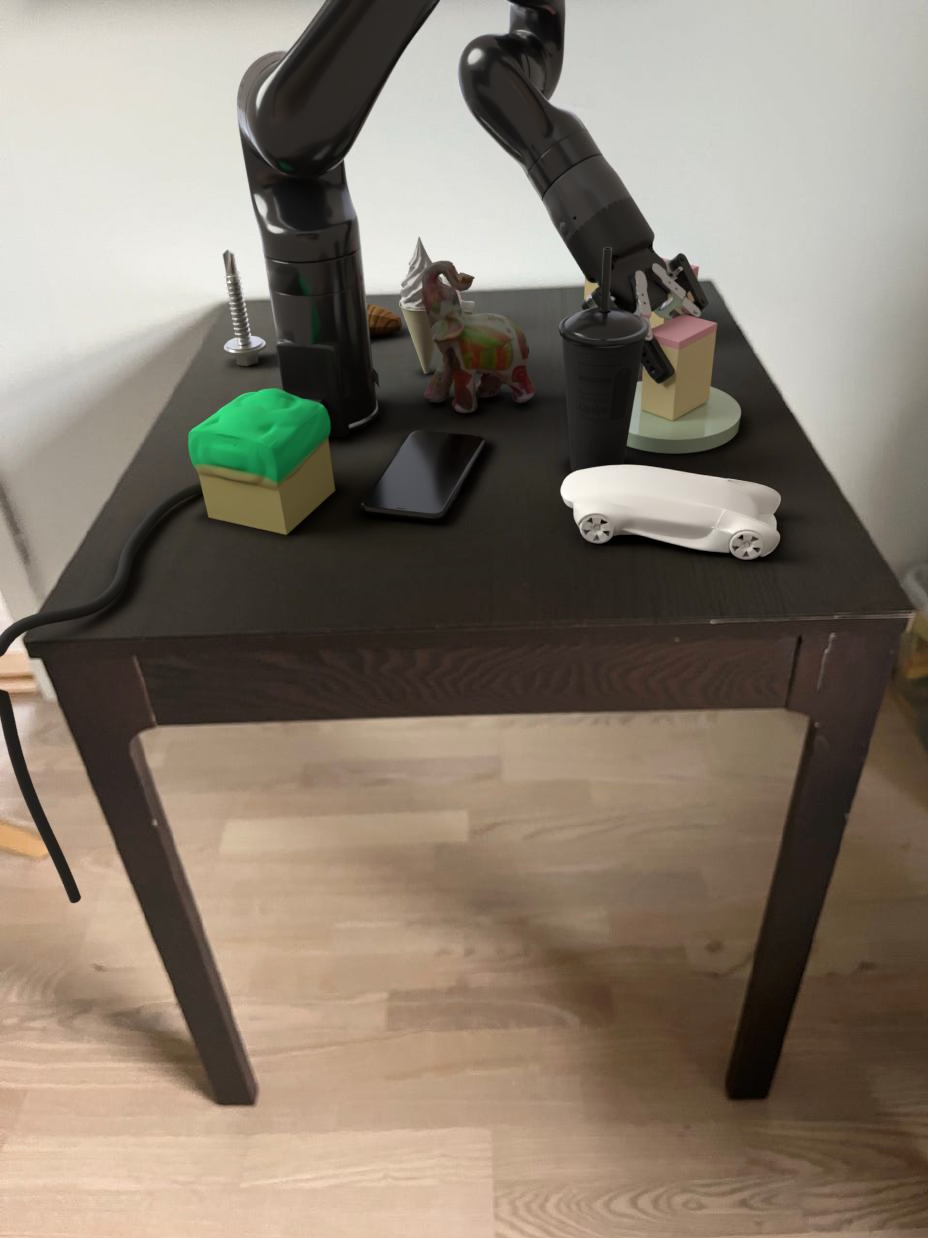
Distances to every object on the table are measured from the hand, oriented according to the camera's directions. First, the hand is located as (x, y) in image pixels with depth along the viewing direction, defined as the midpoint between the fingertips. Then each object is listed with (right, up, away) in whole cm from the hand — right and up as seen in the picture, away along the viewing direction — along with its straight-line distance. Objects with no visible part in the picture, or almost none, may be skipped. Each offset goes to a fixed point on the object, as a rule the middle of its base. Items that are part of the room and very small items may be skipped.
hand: (687, 367), depth 94 cm
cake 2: (-1, +11, +25) cm, 27 cm away
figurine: (-20, -2, +9) cm, 22 cm away
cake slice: (-1, -3, +3) cm, 4 cm away
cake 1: (-39, -14, -6) cm, 42 cm away
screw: (-47, +6, +21) cm, 52 cm away
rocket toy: (-24, +12, +27) cm, 38 cm away
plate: (-1, -4, +4) cm, 6 cm away
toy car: (-5, -17, -12) cm, 21 cm away
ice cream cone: (-26, +3, +16) cm, 31 cm away
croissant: (-36, +11, +27) cm, 46 cm away
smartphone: (-25, -11, -4) cm, 28 cm away
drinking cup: (-9, -10, -3) cm, 14 cm away
